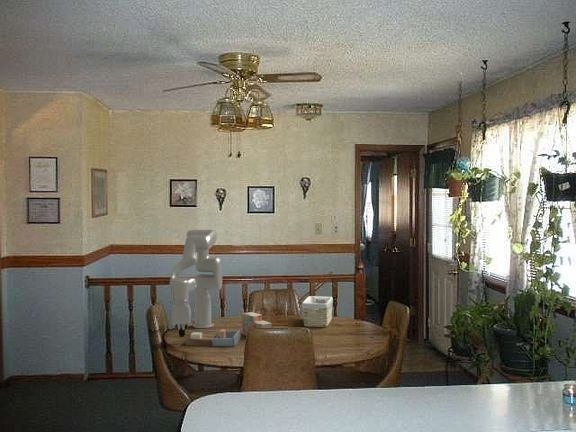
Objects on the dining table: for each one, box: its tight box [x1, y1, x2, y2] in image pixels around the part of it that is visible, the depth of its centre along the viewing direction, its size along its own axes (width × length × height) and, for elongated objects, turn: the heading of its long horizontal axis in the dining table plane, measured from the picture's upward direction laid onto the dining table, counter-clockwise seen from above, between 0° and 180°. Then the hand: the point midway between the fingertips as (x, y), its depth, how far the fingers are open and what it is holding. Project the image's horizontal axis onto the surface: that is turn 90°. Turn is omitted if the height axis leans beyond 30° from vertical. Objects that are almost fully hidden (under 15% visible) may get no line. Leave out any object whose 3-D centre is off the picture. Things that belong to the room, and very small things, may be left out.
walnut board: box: [184, 332, 219, 347], centre depth 323 cm, size 16×14×3 cm
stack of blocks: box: [241, 311, 273, 336], centre depth 333 cm, size 21×6×12 cm, turn 35°
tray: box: [211, 328, 242, 348], centre depth 321 cm, size 18×12×5 cm, turn 173°
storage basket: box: [301, 295, 334, 328], centre depth 366 cm, size 24×16×15 cm
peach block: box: [218, 328, 227, 339], centre depth 325 cm, size 5×5×2 cm
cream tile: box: [190, 331, 203, 339], centre depth 319 cm, size 5×5×2 cm
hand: (182, 336), depth 320 cm, fingers closed
